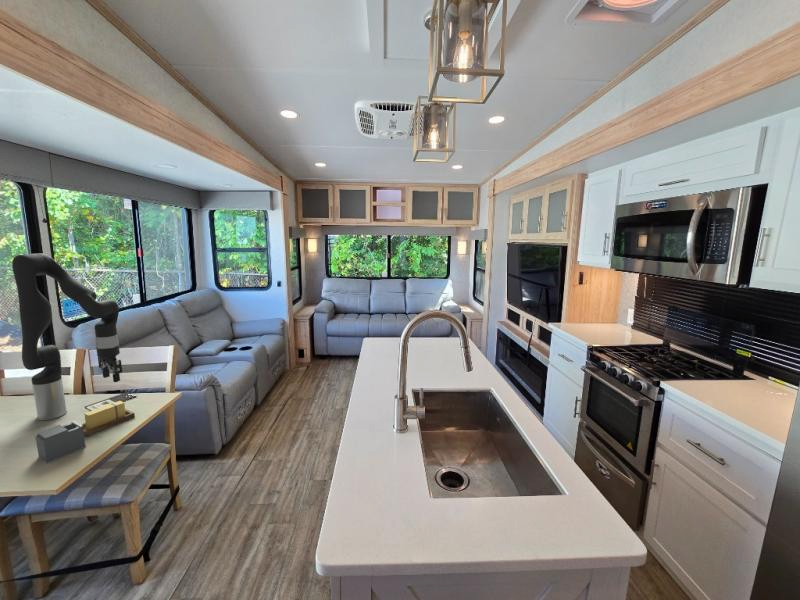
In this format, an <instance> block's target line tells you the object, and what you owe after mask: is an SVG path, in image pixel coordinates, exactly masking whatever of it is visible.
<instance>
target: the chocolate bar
mask: <svg viewBox="0 0 800 600" xmlns="http://www.w3.org/2000/svg"><path fill="white" fill-rule="evenodd" d="M128 394H132V393H131V392H129V391H126V392H123V393H121V394H117V395H114V396H111V397H109V398H106V399H103V400H100V401H97V402H93V403H91V404H88V405H85V406H84V408H85V409H86V410H88V411H93V410H95V409H98V408H101V407H104V406H107V405H109V404H112V403H115V402H118V401H122V402H124V403H125V402H127V401H129V399H130V400H132V398H133V399H136V398H137V397H136V396H137V395H136V396H132V395H128ZM126 396H127V397H126ZM129 396H130V397H129ZM126 400H127V401H126Z"/></svg>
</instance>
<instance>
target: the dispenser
mask: <svg viewBox="0 0 800 600" xmlns="http://www.w3.org/2000/svg"><path fill="white" fill-rule="evenodd" d="M81 424H82V423H80V422H78V421H75V420H73V421H71V422H70V423H67V424H65V425H61V424H57V425H54V426H52V427H49V428H46V429H43V430H40V431H37V432H36V435H34V436H35V438H34V439H35V442H36V443H35V444H36V449H37V454H38V458H39V459H41V460H42V461H43V462H45V463H46V464H48V463H51V462H53V461H55V460H57V459H58V460H59V459H60V458H63V457H65V456H67V455H70V454H71V453H74V452H76V451H79V450H81V449H83V448H86V447H87V445H86V439H85V438H86V437H84V431H83V425H81ZM76 426H77V427H76Z"/></svg>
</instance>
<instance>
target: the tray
mask: <svg viewBox="0 0 800 600" xmlns="http://www.w3.org/2000/svg"><path fill="white" fill-rule="evenodd" d="M125 413H126V415H125V416H123V417H120V418H118V419H115V420H112V421H110V422H107V423H105V424H102V425H100V426H97V427H95V428H92V429H90V430H89V429H87V428H86V422H84V423H80V424H81V425H83V431H84V438H87V437H89V436H92V435H94V434H95V435H96V434H97V433H99V432H102V431H104V430H107V429H109V428H112V427H114V426H117V425H119V424H121V423H124V422H126V421H129V420H132V419H134V418H135V417H136V416H135V413H134V412H133V411H131V410H129V409H127V408H125ZM76 427H77V426H76Z"/></svg>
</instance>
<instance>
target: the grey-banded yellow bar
mask: <svg viewBox="0 0 800 600" xmlns="http://www.w3.org/2000/svg"><path fill="white" fill-rule="evenodd" d="M125 407H126V406H125V401H124V402H122V401H118V402H115V403H112V404H109V405H107V406H104V407H101V408H98V409H95V410H93V411H91V410H89V411H87V412H84V413H83V415H84V420H85V422H84V423H86V428H87V429H89V430H90V429H92V428H95V427H97V426H100V425H102V424H105V423H107V422H110V421H112V420H115V419H118V418H120V417H123V416H125V415H126V413H125V409H126V408H125Z"/></svg>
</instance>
